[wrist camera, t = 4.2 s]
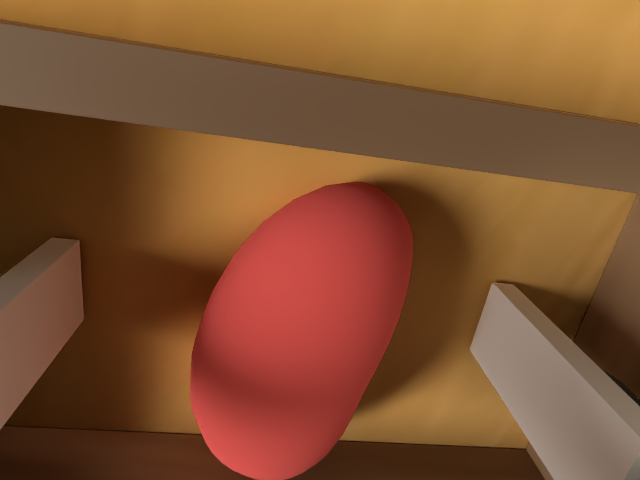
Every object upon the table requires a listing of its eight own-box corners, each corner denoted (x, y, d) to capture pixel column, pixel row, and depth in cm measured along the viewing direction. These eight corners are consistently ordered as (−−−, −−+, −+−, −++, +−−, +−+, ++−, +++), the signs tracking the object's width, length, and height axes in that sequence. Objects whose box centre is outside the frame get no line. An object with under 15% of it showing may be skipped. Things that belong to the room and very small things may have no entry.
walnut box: (540, 468, 18) (653, 645, 13) (-64, 444, 15) (-262, 666, 10) (695, 132, 13) (998, 185, 8) (-169, -9, 10) (-725, -94, 4)
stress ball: (151, 312, 16) (142, 515, 12) (264, 118, 10) (315, 379, 6) (278, 326, 18) (305, 494, 14) (420, 179, 13) (522, 387, 9)
